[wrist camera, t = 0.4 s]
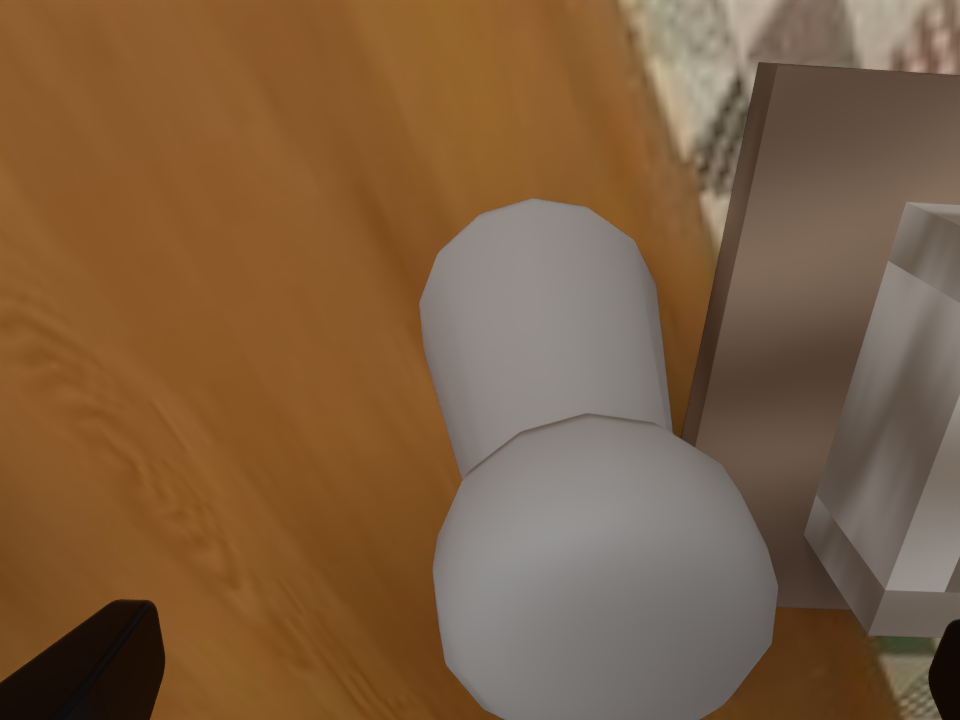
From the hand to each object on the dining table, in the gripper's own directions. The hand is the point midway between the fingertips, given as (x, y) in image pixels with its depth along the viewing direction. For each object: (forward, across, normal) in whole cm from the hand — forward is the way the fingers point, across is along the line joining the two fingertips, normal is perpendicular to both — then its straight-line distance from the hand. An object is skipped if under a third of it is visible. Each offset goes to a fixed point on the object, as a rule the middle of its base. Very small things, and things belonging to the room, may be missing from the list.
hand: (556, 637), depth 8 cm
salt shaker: (+13, -1, 0) cm, 13 cm away
